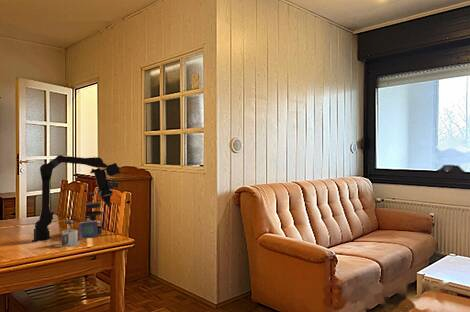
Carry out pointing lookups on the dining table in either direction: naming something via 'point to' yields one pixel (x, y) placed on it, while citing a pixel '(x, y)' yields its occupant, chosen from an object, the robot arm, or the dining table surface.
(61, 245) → the coaster
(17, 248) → the dining table surface
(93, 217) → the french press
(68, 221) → the plunger
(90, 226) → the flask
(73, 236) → the grey boxy piece
